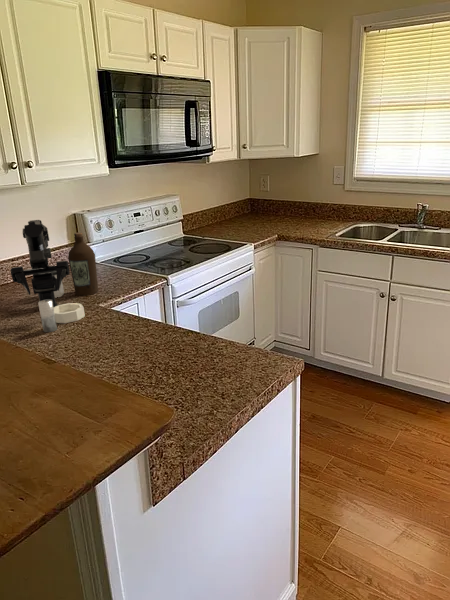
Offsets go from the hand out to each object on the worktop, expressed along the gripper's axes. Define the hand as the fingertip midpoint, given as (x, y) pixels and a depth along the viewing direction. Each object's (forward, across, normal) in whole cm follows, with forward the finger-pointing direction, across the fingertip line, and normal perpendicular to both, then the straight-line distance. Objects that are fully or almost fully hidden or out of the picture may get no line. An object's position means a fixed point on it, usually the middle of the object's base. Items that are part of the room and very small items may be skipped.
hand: (44, 292), depth 162 cm
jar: (-17, +2, +34) cm, 38 cm away
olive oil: (-15, +16, +32) cm, 39 cm away
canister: (+12, 0, +4) cm, 13 cm away
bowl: (+5, +6, +11) cm, 14 cm away
